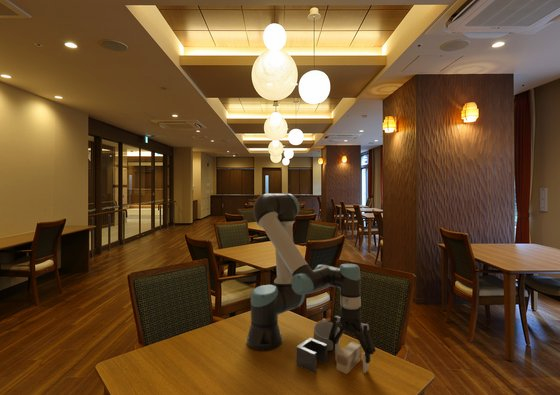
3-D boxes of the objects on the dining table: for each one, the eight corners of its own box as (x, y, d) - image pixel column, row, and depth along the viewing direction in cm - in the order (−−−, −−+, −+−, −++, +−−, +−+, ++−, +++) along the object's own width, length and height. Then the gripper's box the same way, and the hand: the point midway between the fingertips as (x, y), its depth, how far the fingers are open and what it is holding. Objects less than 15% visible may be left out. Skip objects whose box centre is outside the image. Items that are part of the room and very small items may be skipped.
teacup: (337, 357, 118) (340, 340, 116) (310, 351, 120) (312, 335, 118) (337, 334, 131) (340, 318, 129) (313, 329, 133) (315, 314, 131)
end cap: (327, 362, 113) (327, 344, 113) (314, 373, 107) (314, 354, 106) (310, 354, 119) (310, 337, 118) (296, 364, 112) (296, 346, 112)
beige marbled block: (346, 374, 106) (346, 357, 106) (336, 369, 109) (336, 353, 109) (361, 359, 115) (361, 344, 115) (352, 355, 118) (352, 341, 118)
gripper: (319, 302, 116) (319, 358, 115) (376, 316, 101) (377, 381, 100) (329, 297, 121) (329, 351, 121) (384, 310, 106) (385, 372, 106)
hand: (351, 365), depth 111 cm, fingers open, 11 cm apart
